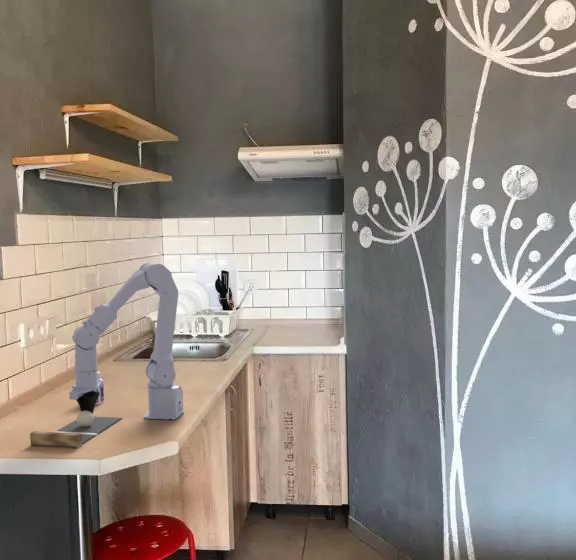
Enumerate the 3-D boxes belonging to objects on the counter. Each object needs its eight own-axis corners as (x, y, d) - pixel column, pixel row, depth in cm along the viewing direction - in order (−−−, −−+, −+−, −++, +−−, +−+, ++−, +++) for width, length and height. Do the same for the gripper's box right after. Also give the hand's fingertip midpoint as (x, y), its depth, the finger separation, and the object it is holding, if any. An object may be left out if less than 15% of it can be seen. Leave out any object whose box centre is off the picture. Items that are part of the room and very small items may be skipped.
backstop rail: (81, 446, 160) (81, 433, 159) (78, 448, 158) (78, 435, 158) (34, 443, 162) (33, 431, 162) (30, 445, 161) (30, 433, 160)
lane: (121, 419, 183) (121, 417, 183) (76, 448, 158) (76, 446, 158) (82, 417, 185) (82, 416, 185) (32, 445, 161) (32, 444, 161)
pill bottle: (97, 400, 204) (96, 370, 204) (107, 402, 201) (106, 372, 200) (82, 403, 200) (81, 373, 199) (92, 406, 197) (91, 375, 196)
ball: (97, 412, 177) (89, 408, 173) (95, 428, 175) (86, 425, 171) (83, 412, 178) (75, 408, 174) (80, 428, 176) (72, 425, 172)
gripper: (86, 364, 183) (87, 411, 184) (58, 375, 169) (59, 425, 170) (109, 365, 182) (110, 412, 183) (83, 376, 168) (84, 427, 169)
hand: (87, 419), depth 176 cm, fingers closed, pressing on ball
